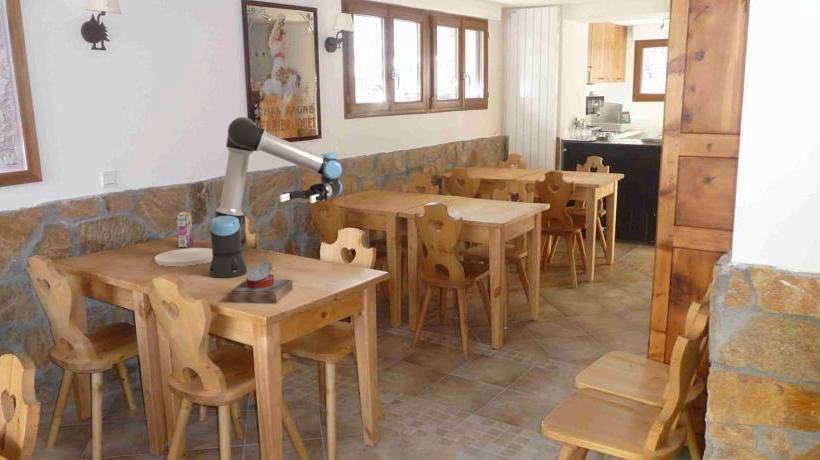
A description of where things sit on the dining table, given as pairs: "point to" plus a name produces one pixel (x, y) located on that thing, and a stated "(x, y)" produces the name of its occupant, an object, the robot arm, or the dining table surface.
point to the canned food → (260, 276)
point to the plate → (184, 257)
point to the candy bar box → (184, 229)
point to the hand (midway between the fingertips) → (295, 199)
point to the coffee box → (243, 235)
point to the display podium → (260, 292)
